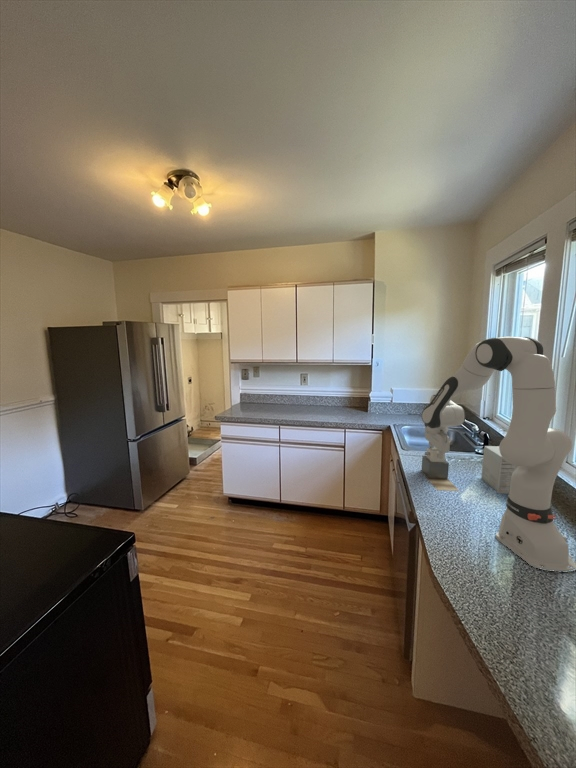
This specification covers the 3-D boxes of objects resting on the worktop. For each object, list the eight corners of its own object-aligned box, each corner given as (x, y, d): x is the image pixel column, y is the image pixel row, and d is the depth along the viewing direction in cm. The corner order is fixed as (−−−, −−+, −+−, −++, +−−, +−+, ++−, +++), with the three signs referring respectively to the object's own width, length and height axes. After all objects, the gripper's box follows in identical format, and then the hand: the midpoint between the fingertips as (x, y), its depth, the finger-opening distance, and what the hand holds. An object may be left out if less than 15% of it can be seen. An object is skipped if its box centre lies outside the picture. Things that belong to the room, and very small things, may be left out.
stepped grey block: (447, 479, 148) (449, 457, 147) (428, 478, 149) (429, 457, 147) (439, 471, 157) (441, 450, 155) (421, 470, 158) (422, 450, 156)
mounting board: (459, 493, 138) (459, 490, 138) (437, 493, 138) (437, 490, 138) (439, 473, 158) (439, 470, 158) (419, 472, 159) (420, 469, 159)
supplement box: (527, 494, 137) (532, 457, 134) (496, 493, 138) (500, 456, 135) (508, 480, 150) (512, 446, 147) (480, 479, 151) (483, 445, 148)
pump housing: (444, 462, 149) (445, 452, 148) (427, 461, 149) (427, 452, 148) (439, 457, 154) (439, 447, 154) (422, 457, 155) (423, 447, 154)
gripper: (454, 434, 139) (452, 463, 141) (435, 421, 159) (433, 447, 161) (440, 433, 139) (438, 463, 141) (423, 421, 159) (421, 447, 161)
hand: (435, 454), depth 151 cm, fingers open, 8 cm apart
